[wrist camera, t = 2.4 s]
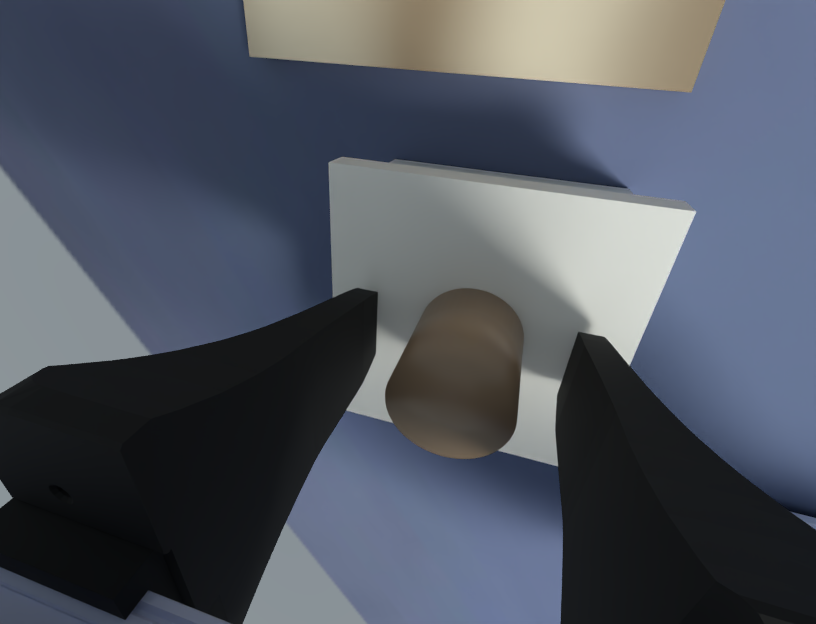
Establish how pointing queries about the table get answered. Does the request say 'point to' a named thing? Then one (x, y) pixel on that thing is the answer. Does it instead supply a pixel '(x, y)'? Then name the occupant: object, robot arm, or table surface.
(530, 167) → the table surface
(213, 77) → the table surface
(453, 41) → the birch board
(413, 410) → the lid
